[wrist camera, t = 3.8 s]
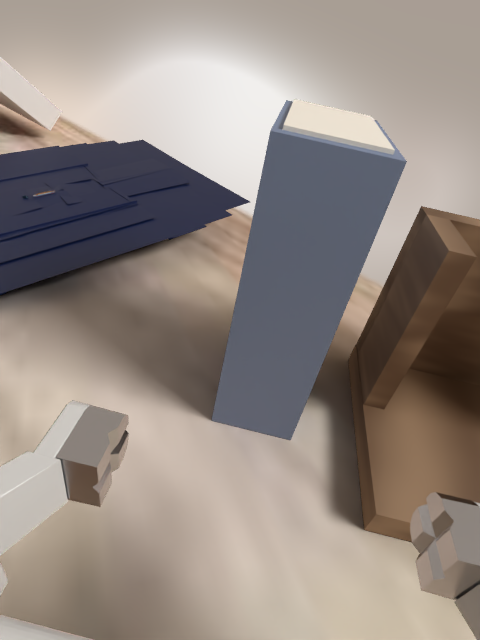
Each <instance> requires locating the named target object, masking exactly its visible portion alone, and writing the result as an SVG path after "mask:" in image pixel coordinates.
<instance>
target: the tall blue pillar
mask: <svg viewBox="0 0 480 640" xmlns="http://www.w3.org/2000/svg"><path fill="white" fill-rule="evenodd" d="M406 162H407V161H406V160H405V159H404V157H403V156H402V155H401V153H400V152H399V150H398V149H397V148H396V146H395V145H394V144H393V142H392V141H391V139H390V138H389V137H388V136H387V134H386V133H385V131H384V130H383V129H382V127H381V126H380V124H379V123H378V122H377V121H376V120H374V119H373V118H372V117H371V116H367V115H364V114H359V113H355V112H350V111H346V110H341V109H337V108H332V107H328V106H323V105H319V104H314V103H310V102H305V101H301V100H297V99H294V101H293V102H292V101H286V102H285V104H284V106H283V108H282V110H281V112H280V114H279V116H278V118H277V120H276V122H275V124H274V125H273V127H272V129H271V132H270V136H269V141H268V146H267V151H266V156H265V161H264V166H263V170H262V176H261V181H260V185H259V190H258V195H257V200H256V205H255V210H254V215H253V220H252V224H251V229H250V234H249V239H248V244H247V249H246V254H245V259H244V264H243V269H242V274H241V278H240V283H239V288H238V293H237V298H236V303H235V308H234V313H233V318H232V323H231V327H230V332H229V337H228V342H227V347H226V352H225V357H224V362H223V367H222V372H221V377H220V381H219V386H218V391H217V396H216V401H215V406H214V411H213V416H212V421H215V422H219V423H223V424H227V425H231V426H235V427H239V428H243V429H247V430H251V431H255V432H259V433H263V434H267V435H271V436H275V437H279V438H283V439H287V440H291V438H292V435H293V433H294V431H295V428H296V426H297V423H298V421H299V419H300V416H301V414H302V411H303V409H304V407H305V404H306V402H307V399H308V397H309V395H310V392H311V390H312V387H313V385H314V383H315V380H316V378H317V376H318V373H319V371H320V368H321V366H322V364H323V361H324V359H325V356H326V354H327V352H328V349H329V347H330V344H331V342H332V340H333V337H334V335H335V332H336V330H337V328H338V325H339V323H340V320H341V318H342V316H343V313H344V311H345V308H346V306H347V304H348V301H349V299H350V296H351V294H352V292H353V289H354V287H355V284H356V282H357V280H358V277H359V275H360V272H361V270H362V268H363V265H364V263H365V260H366V258H367V256H368V253H369V251H370V248H371V246H372V244H373V241H374V239H375V236H376V234H377V231H378V229H379V227H380V224H381V222H382V220H383V217H384V215H385V212H386V210H387V208H388V205H389V203H390V200H391V198H392V196H393V193H394V191H395V188H396V186H397V183H398V181H399V179H400V176H401V174H402V171H403V169H404V167H405V164H406Z"/></svg>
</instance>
